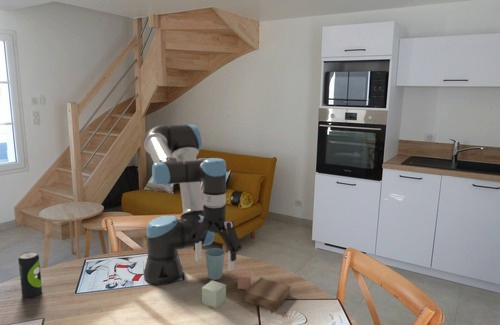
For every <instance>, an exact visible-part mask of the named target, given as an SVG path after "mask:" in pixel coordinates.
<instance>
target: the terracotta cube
mask: <svg viewBox="0 0 500 325" xmlns="http://www.w3.org/2000/svg"><path fill="white" fill-rule="evenodd" d="M253 284H254V271H251V270H250V271H249V270H248V271H247V270H241V269H240V271H239V273H238V275H237V289H238V290H245V291H246V290H247V289H249V288H250V287H251V286H252V285H253Z"/></svg>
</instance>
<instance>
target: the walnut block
mask: <svg viewBox="0 0 500 325" xmlns="http://www.w3.org/2000/svg"><path fill="white" fill-rule="evenodd" d="M290 292H291V286H290V285H288V284H284V283H281V282H278V281H273V280H272V279H267V278H264V277H260V278H258V280H257V281H255V282H253V285H252V286H251V287H250V288H249V289H247V290H245V291H244V302H246V303H248V304H249V303H250V304H252V305H256V306H257V307H261V308H265V309H267V310H271V311H274V312H276V311H277V310H278V309H279V308H280V307H281V305H283V304H284V302H285V301H286V300H287V298H289V297H290V294H291V293H290Z"/></svg>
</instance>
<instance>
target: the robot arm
mask: <svg viewBox="0 0 500 325" xmlns="http://www.w3.org/2000/svg"><path fill="white" fill-rule="evenodd" d="M142 143H143V149H145V151H146V153H148V154H149V156H150V157H151V159H152V162H153V164H152V166H151V178H152V182H153V184H155V185H165V186H166V185H173V184H174V185H176V184H179V188H180V189H179V191H180V197H181V202H182V203H181V204H182V212H181V214H180V215H179V216H180V219H178V217H177V216H175V215H162V216H158V217H155V218H153V219H151V220H150V221H149V222H148V224H147V226H146V237H147V238H146V239H147V260H146V261H145V262H146V263H145V266H144V269H143V278H144V281H145V282H147V283H150V284H153V285H167V284H171V283H175V282H176V281H178V280H180V279H181V278H182V277H183V273H184V272H183V265H182V264H181V260H180V257H179V250H184V249H191V248H192V249H193V251H194V255H195V256H194V260H195V262H199V261H201V260H202V257H203V255H202V254H203V252H202V251H203V250H202V249H203V248H202V247H205V246H209V245H211V244H213V242H214V240H215V238H216V237H215V236H216V234H218V236H219V237H221V238H222V240H223V242H224V243H225V245H226V246H227V248H228V250H229V251H228V252H227V271H228V272H230V271H232V270H233V269H234V268H235V261H236V260H237V253H238V252H240V251H241V250H242V249H243V248H242V245H241V241H240V239H239V237H238V235H237V231H236V229H235V224H234V221H233V220H230V221H226V216H227V213H226V210H227V208H226V207H227V206H226V203H227V199H226V198H227V193H226V192H227V163H226V160H225V159H223V158H220V157H210V158H205V157H203V158H198V159H197V156H198V154H199V152H200V150H201V149H202V146H203V143H202V135H201V131H200V130H199V128H198V127H197V126H196V125H195V124H186V123H185V124H161V125H156V126H154V127H152V128H150V129H149V130H148V131H147V132H146V133H145V135H144V137H143V142H142ZM201 183H202V186H201Z"/></svg>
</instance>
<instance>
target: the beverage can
mask: <svg viewBox="0 0 500 325" xmlns="http://www.w3.org/2000/svg"><path fill="white" fill-rule="evenodd" d="M18 268H19V269H18V270H19V278H20V279H19V280H20V289H21V295H22V296H23V297H24V298H26V299H28V298H35V297H37V296H39V295H40V294H41V293H42V291H43V287H42V286H43V284H42V275H41V274H42V272H41V263H40V255H39V253H38V252H37V251H35V250H33V251H26V252H23V253H21V254H19V255H18Z"/></svg>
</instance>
